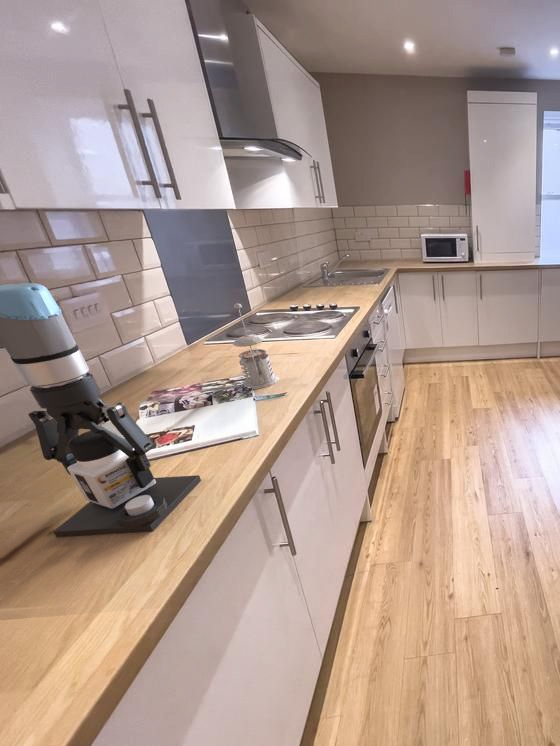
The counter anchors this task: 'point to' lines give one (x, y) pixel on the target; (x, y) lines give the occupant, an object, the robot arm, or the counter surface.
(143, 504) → the button
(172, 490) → the scale
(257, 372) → the french press
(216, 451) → the counter surface
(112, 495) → the container
